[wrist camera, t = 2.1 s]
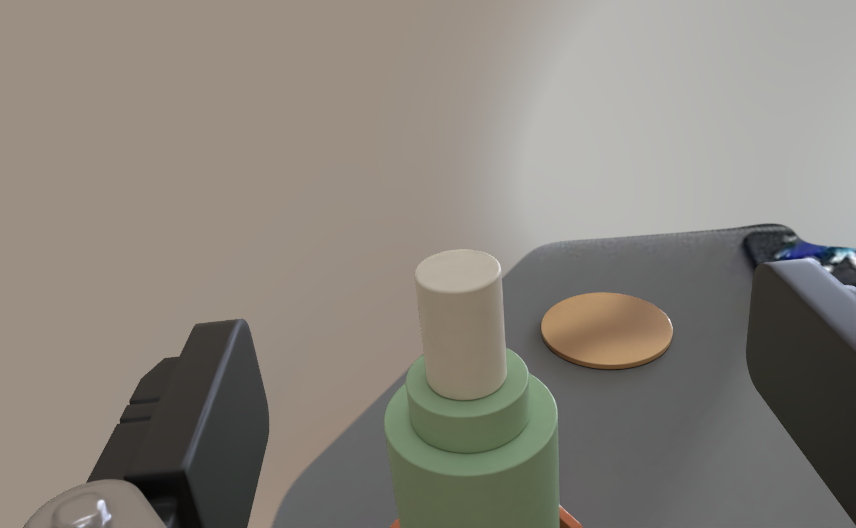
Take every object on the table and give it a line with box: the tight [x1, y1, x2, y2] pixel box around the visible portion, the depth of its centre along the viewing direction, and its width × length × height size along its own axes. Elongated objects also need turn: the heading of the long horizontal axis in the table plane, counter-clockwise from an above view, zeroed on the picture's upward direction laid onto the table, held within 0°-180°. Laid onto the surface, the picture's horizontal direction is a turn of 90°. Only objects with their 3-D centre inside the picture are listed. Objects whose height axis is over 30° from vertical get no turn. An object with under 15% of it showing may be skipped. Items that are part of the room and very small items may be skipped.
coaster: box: [541, 293, 673, 369], centre depth 54 cm, size 9×9×1 cm
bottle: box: [384, 249, 560, 528], centre depth 27 cm, size 6×6×20 cm
